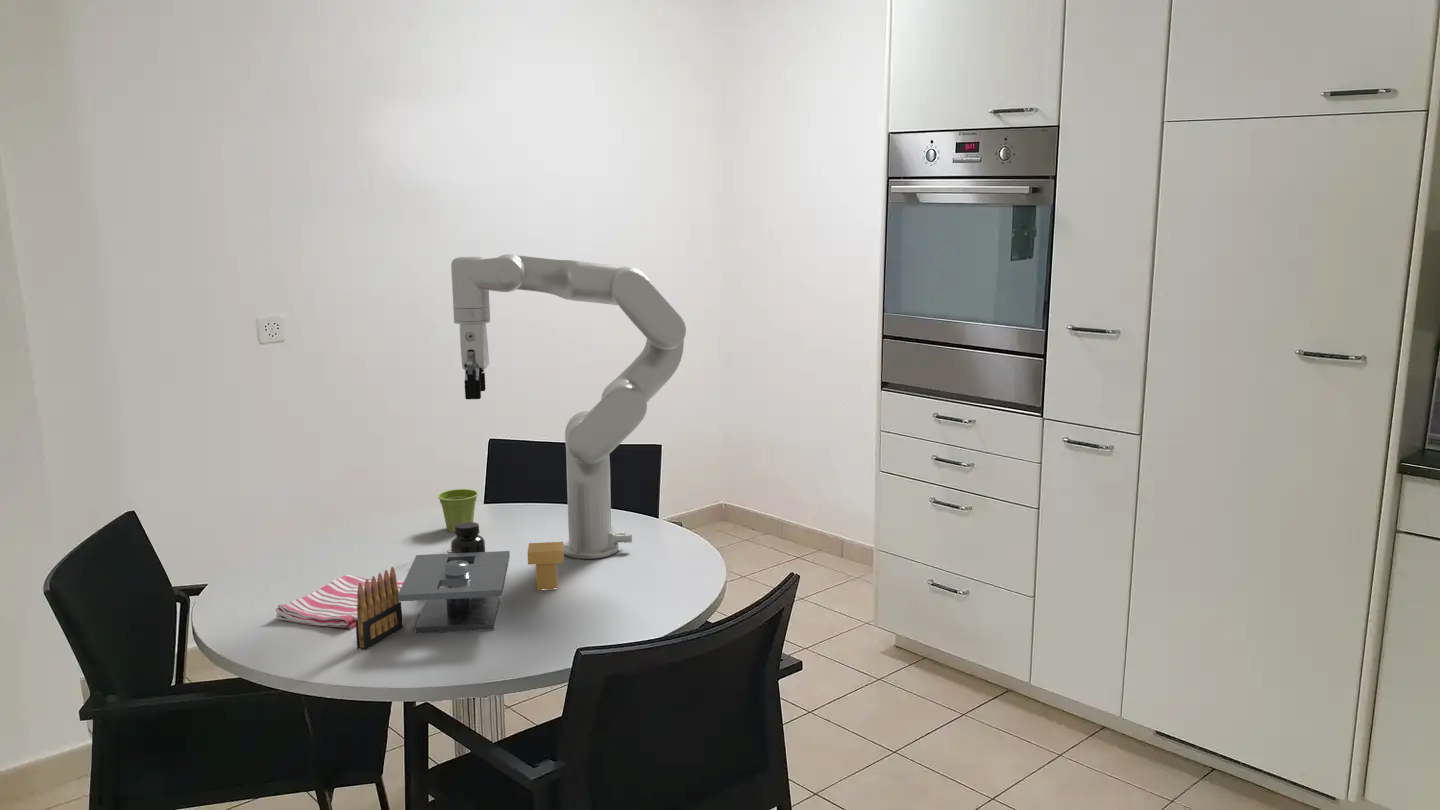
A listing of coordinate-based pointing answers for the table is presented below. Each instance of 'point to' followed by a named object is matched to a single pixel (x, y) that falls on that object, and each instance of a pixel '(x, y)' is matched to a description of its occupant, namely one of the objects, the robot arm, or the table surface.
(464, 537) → the supplement bottle
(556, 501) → the table surface
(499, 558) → the gray tiered stand
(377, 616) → the ammunition clip
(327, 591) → the dish towel
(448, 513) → the plant pot
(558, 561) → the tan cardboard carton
